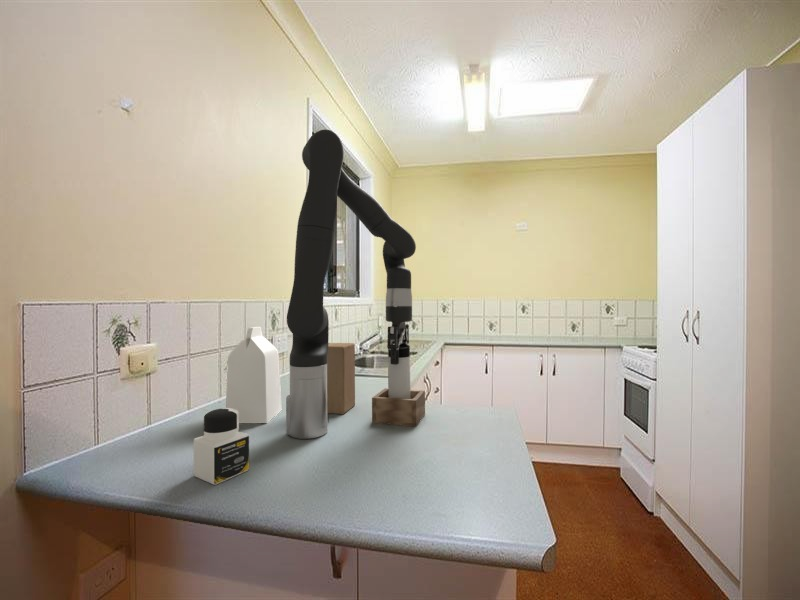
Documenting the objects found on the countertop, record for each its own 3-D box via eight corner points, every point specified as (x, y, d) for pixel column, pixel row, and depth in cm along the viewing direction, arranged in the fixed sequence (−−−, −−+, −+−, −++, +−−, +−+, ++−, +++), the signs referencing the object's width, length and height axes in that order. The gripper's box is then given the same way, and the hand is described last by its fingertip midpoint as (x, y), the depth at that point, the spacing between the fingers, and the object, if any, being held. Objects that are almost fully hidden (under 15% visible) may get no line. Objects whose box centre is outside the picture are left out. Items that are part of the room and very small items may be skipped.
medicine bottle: (214, 486, 65) (214, 418, 65) (192, 476, 68) (192, 412, 69) (249, 470, 71) (249, 408, 71) (228, 462, 74) (227, 403, 75)
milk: (266, 423, 99) (266, 328, 99) (224, 423, 99) (224, 328, 99) (281, 410, 111) (281, 325, 111) (244, 411, 111) (244, 326, 111)
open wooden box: (372, 422, 99) (371, 397, 99) (384, 410, 110) (384, 388, 110) (416, 426, 95) (416, 400, 96) (425, 413, 106) (424, 390, 106)
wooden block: (355, 405, 116) (355, 343, 116) (343, 414, 106) (343, 346, 107) (326, 403, 118) (326, 342, 119) (312, 412, 109) (312, 345, 109)
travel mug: (414, 413, 104) (413, 343, 105) (405, 419, 98) (404, 346, 99) (394, 410, 107) (394, 343, 107) (384, 417, 101) (384, 345, 101)
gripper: (393, 304, 111) (393, 357, 111) (378, 304, 97) (378, 365, 97) (417, 305, 109) (417, 358, 109) (405, 304, 95) (405, 366, 95)
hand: (398, 361), depth 103 cm, fingers open, 8 cm apart
